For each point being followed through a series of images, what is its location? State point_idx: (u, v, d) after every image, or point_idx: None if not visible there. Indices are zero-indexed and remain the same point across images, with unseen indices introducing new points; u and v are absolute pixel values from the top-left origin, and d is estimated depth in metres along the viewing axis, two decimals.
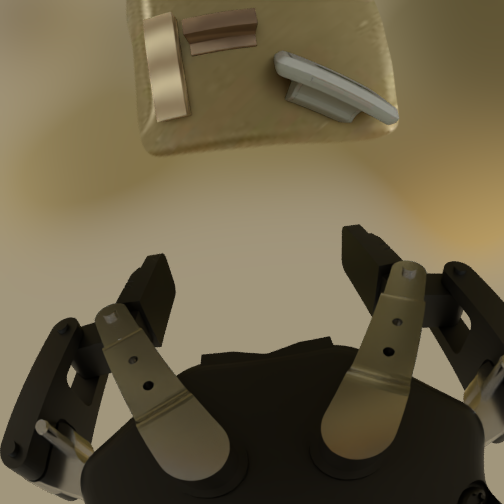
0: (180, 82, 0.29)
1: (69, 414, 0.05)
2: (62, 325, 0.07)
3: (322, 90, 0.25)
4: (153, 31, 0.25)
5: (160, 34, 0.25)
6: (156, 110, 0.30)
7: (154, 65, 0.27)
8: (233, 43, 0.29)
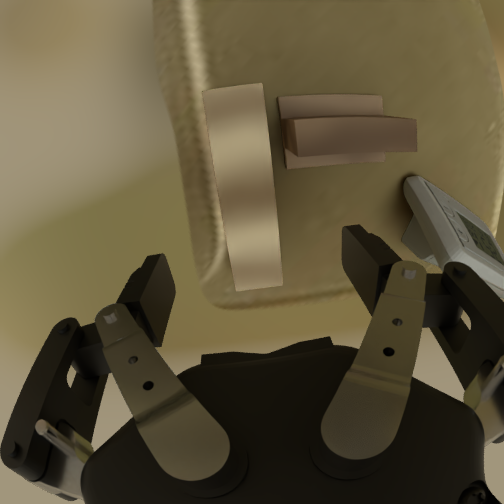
0: (277, 236, 0.21)
1: (69, 414, 0.05)
2: (62, 325, 0.07)
3: None
4: (227, 124, 0.17)
5: (242, 134, 0.17)
6: (235, 275, 0.22)
7: (231, 199, 0.19)
8: (354, 155, 0.21)
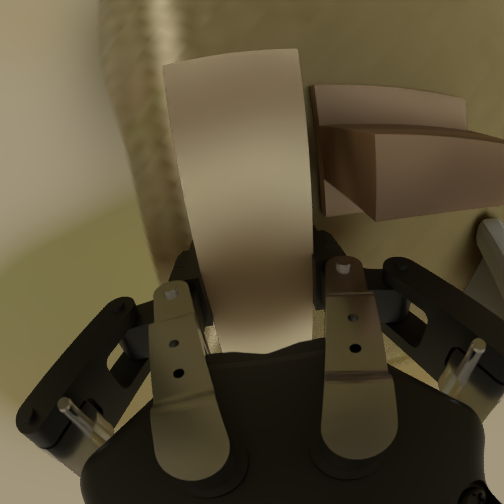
0: None
1: (100, 395, 0.06)
2: (116, 304, 0.08)
3: None
4: (219, 139, 0.08)
5: (251, 160, 0.08)
6: None
7: (228, 291, 0.10)
8: None
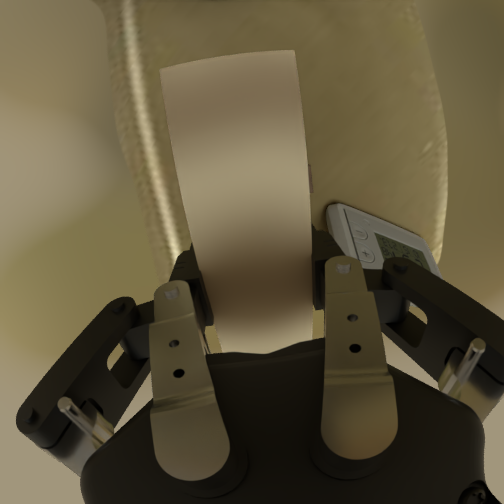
0: None
1: (100, 394, 0.06)
2: (117, 304, 0.08)
3: None
4: (216, 141, 0.08)
5: (249, 163, 0.08)
6: None
7: (228, 293, 0.10)
8: None
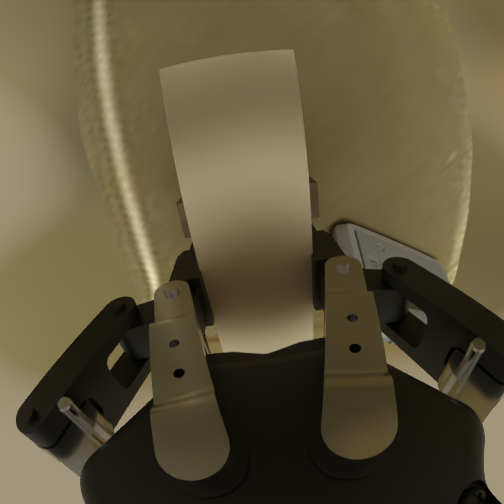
0: None
1: (100, 394, 0.06)
2: (117, 304, 0.08)
3: None
4: (216, 141, 0.08)
5: (249, 162, 0.08)
6: None
7: (228, 292, 0.10)
8: None
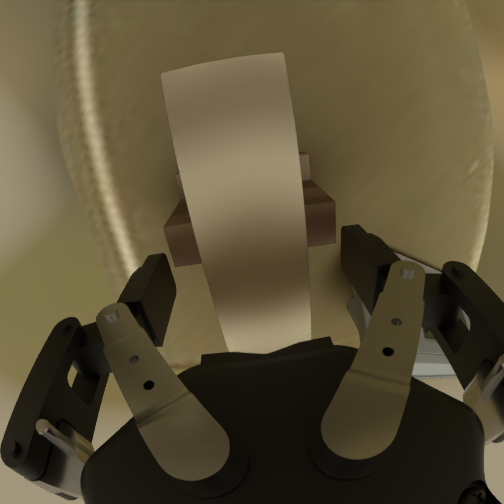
0: (308, 328, 0.12)
1: (69, 413, 0.05)
2: (63, 325, 0.07)
3: None
4: (214, 138, 0.08)
5: (245, 157, 0.09)
6: None
7: (228, 281, 0.11)
8: None
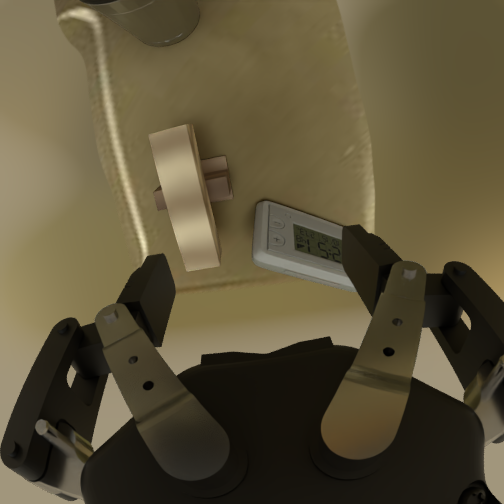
0: (209, 229, 0.29)
1: (69, 414, 0.05)
2: (62, 326, 0.07)
3: (294, 276, 0.33)
4: (166, 155, 0.25)
5: (176, 161, 0.26)
6: (184, 259, 0.31)
7: (174, 205, 0.28)
8: None
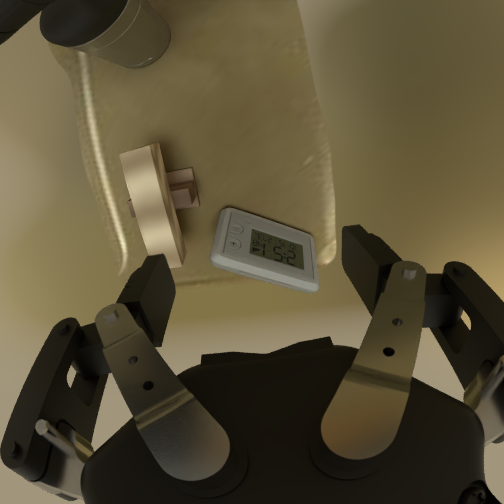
0: (171, 234, 0.33)
1: (69, 414, 0.05)
2: (62, 326, 0.07)
3: None
4: (134, 172, 0.29)
5: (142, 177, 0.30)
6: None
7: (141, 214, 0.32)
8: None
